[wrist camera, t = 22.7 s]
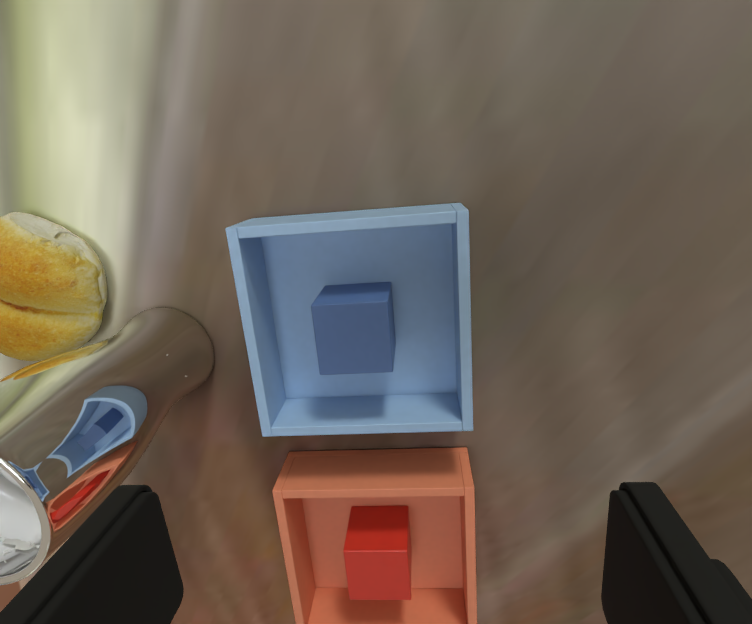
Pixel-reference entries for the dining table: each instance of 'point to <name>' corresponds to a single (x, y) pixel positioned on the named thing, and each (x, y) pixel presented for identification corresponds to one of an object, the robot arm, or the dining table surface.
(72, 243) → the bread roll
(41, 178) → the dining table surface
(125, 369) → the beer glass
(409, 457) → the terracotta bin
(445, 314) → the blue bin
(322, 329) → the blue block
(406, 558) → the red block
